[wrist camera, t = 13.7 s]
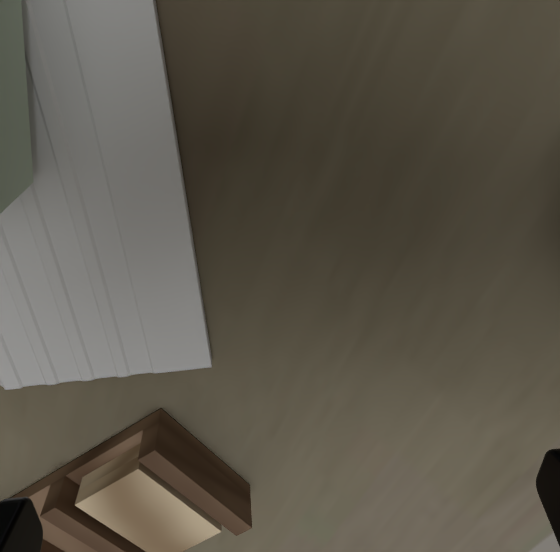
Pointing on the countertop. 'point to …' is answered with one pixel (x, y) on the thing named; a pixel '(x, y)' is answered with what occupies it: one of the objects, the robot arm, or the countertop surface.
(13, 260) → the baseboard
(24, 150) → the pale green block
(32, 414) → the countertop surface
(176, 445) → the rack
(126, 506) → the offcut top
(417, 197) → the countertop surface
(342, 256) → the countertop surface
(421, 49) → the countertop surface
